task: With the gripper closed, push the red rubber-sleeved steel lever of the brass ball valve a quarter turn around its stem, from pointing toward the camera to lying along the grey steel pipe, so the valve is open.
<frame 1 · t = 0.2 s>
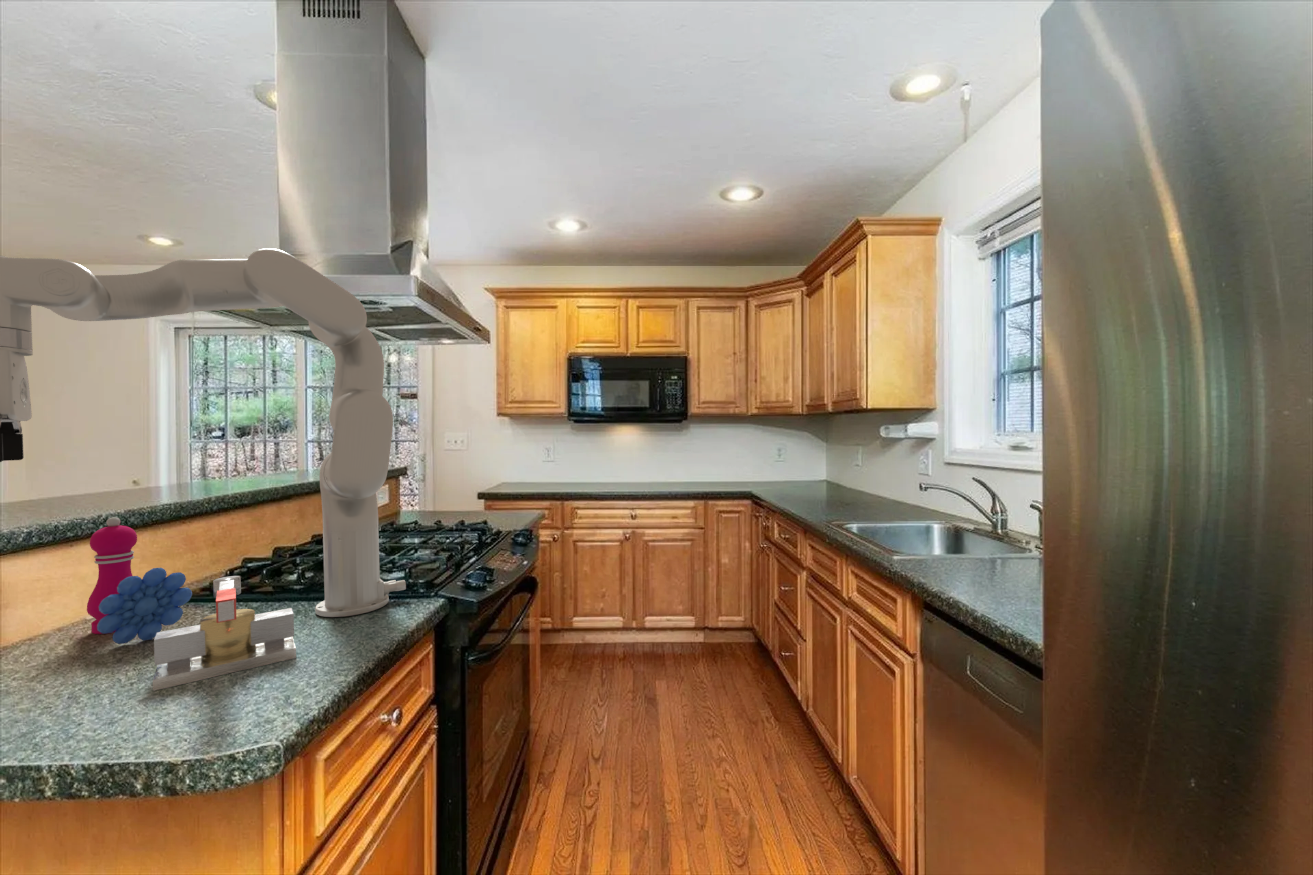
valve lever: (226, 596, 75), point 12 cm above the countertop, hinge at 0.0°
pepper mill: (116, 628, 96), on the countertop
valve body: (229, 662, 80), on the countertop
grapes: (147, 639, 91), on the countertop
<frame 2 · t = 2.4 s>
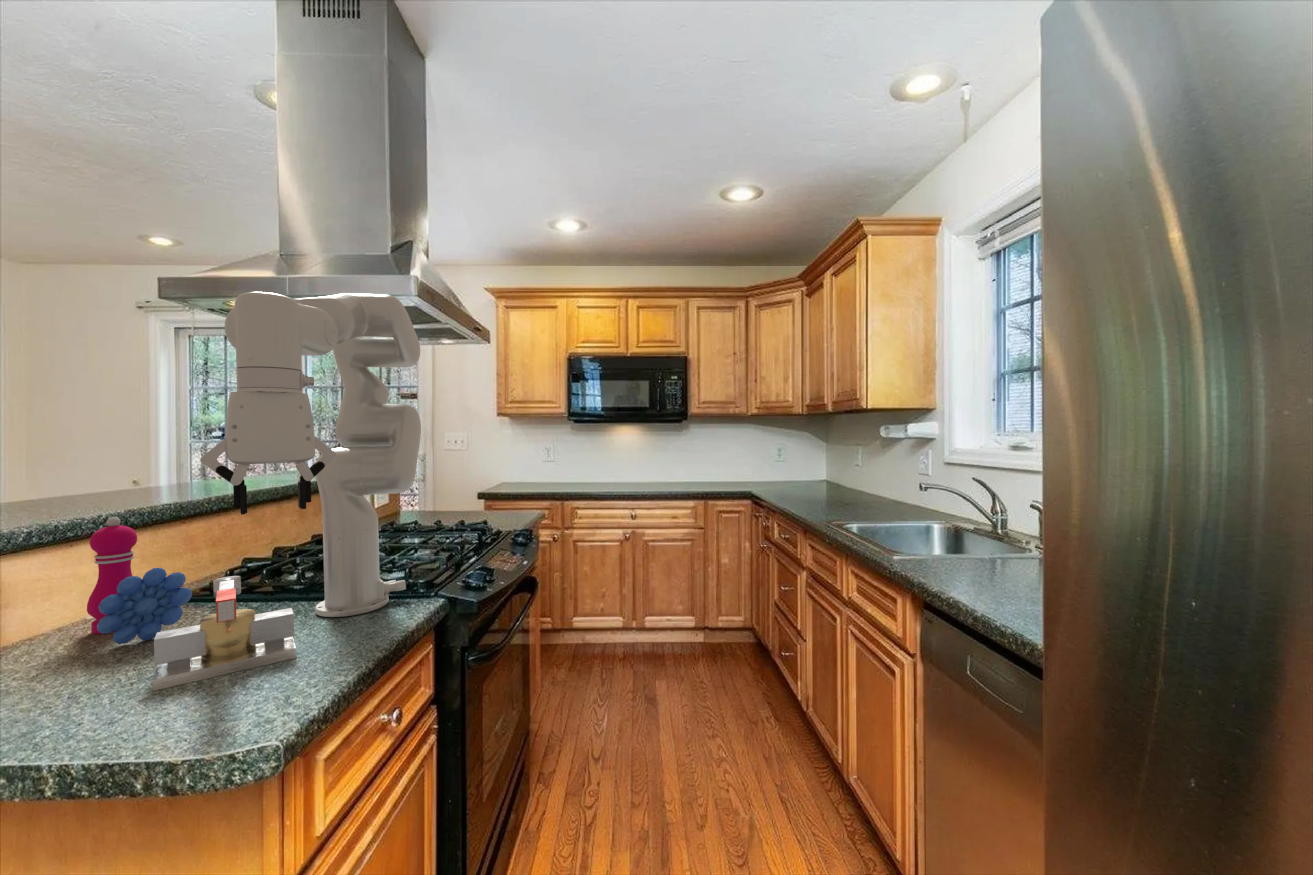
hand: (273, 509, 75), 24 cm above the countertop, tool pointing down, fingers open, 6 cm apart
nothing on the countertop moved.
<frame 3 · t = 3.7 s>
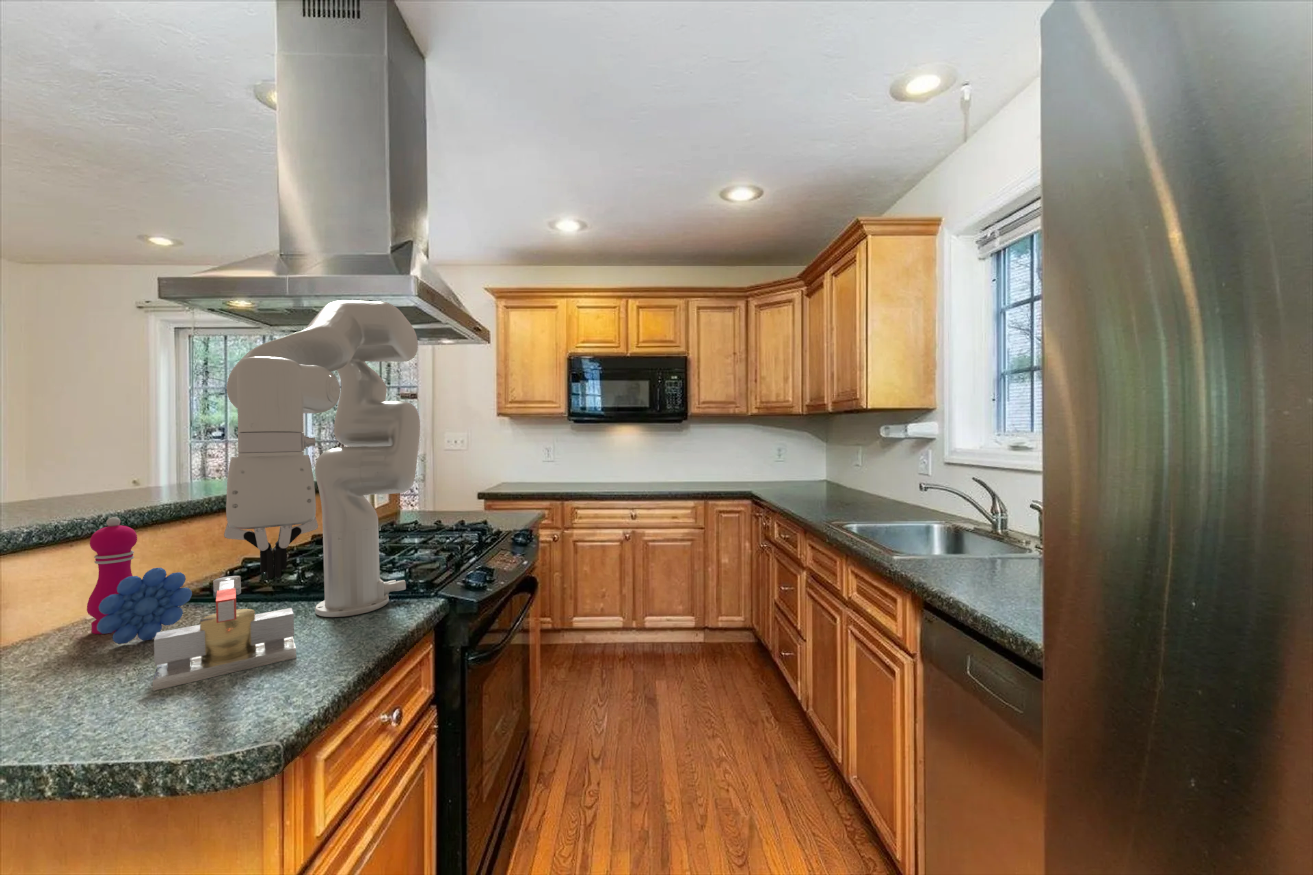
hand: (273, 576, 75), 14 cm above the countertop, tool pointing down, fingers closed
nothing on the countertop moved.
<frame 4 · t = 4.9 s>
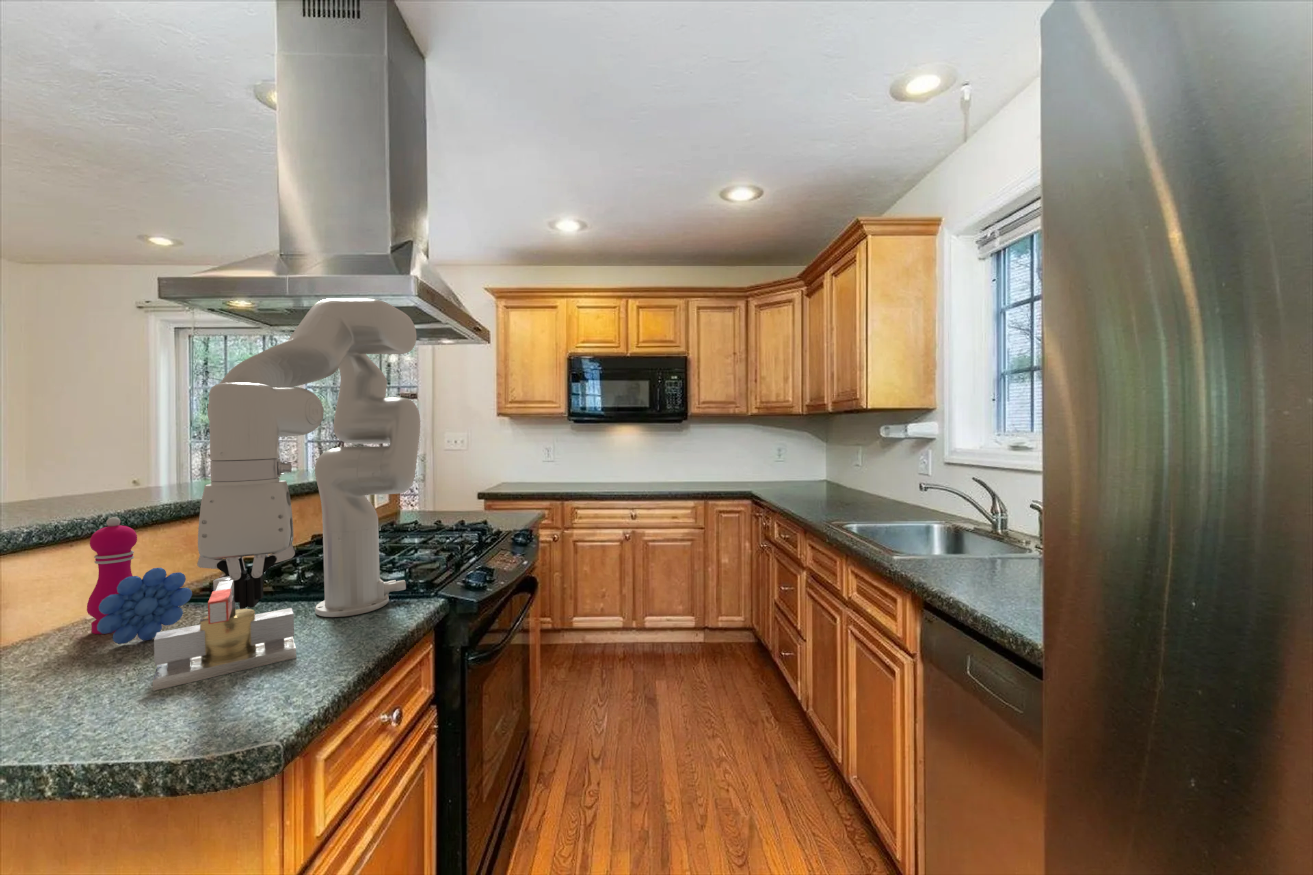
hand: (249, 605, 74), 11 cm above the countertop, tool pointing down, fingers closed
valve lever: (223, 597, 75), point 11 cm above the countertop, hinge at -3.3°, touching gripper
everything else where it was.
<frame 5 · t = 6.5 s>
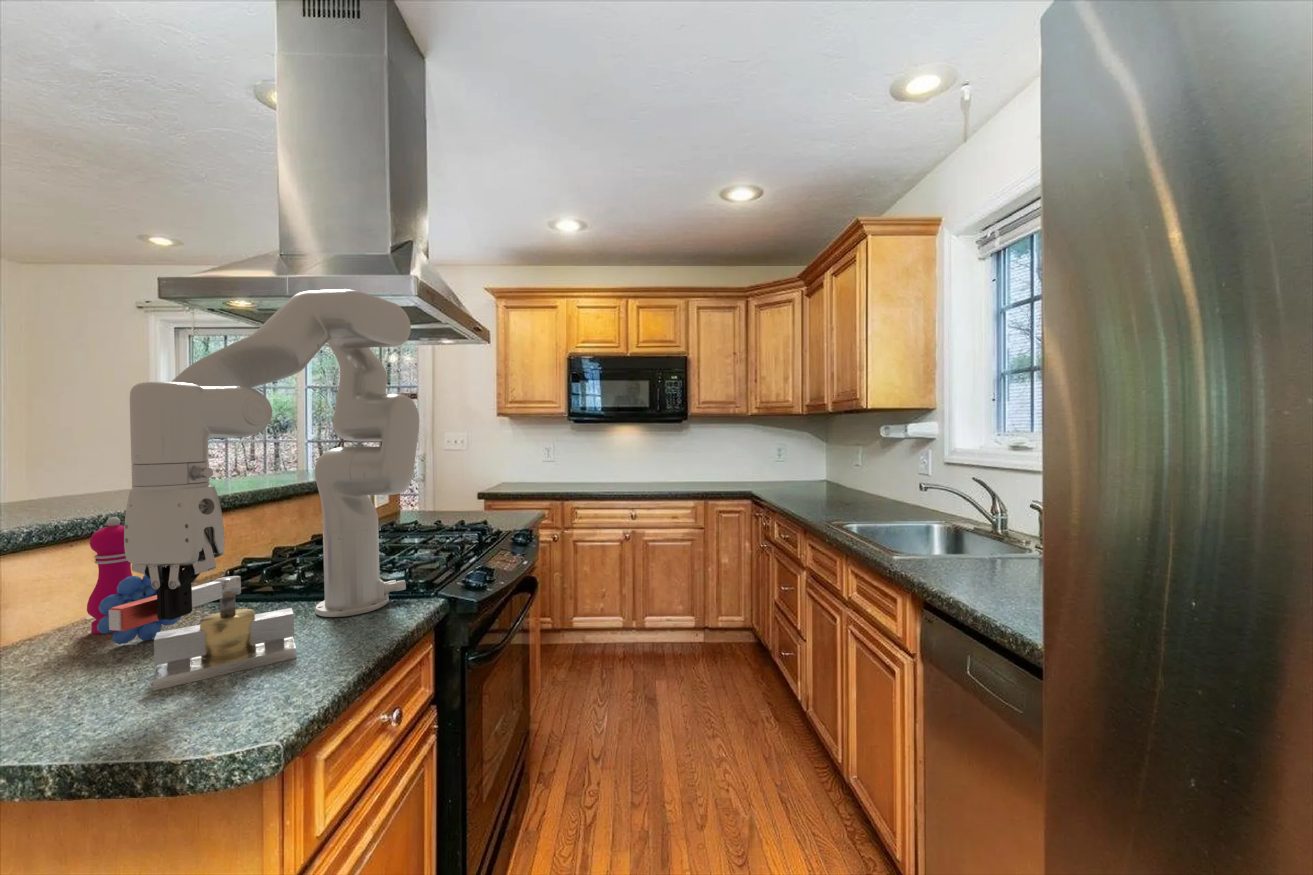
hand: (175, 616, 70), 11 cm above the countertop, tool pointing down, fingers closed
valve lever: (182, 600, 74), point 11 cm above the countertop, hinge at -49.5°, touching gripper
everything else where it was.
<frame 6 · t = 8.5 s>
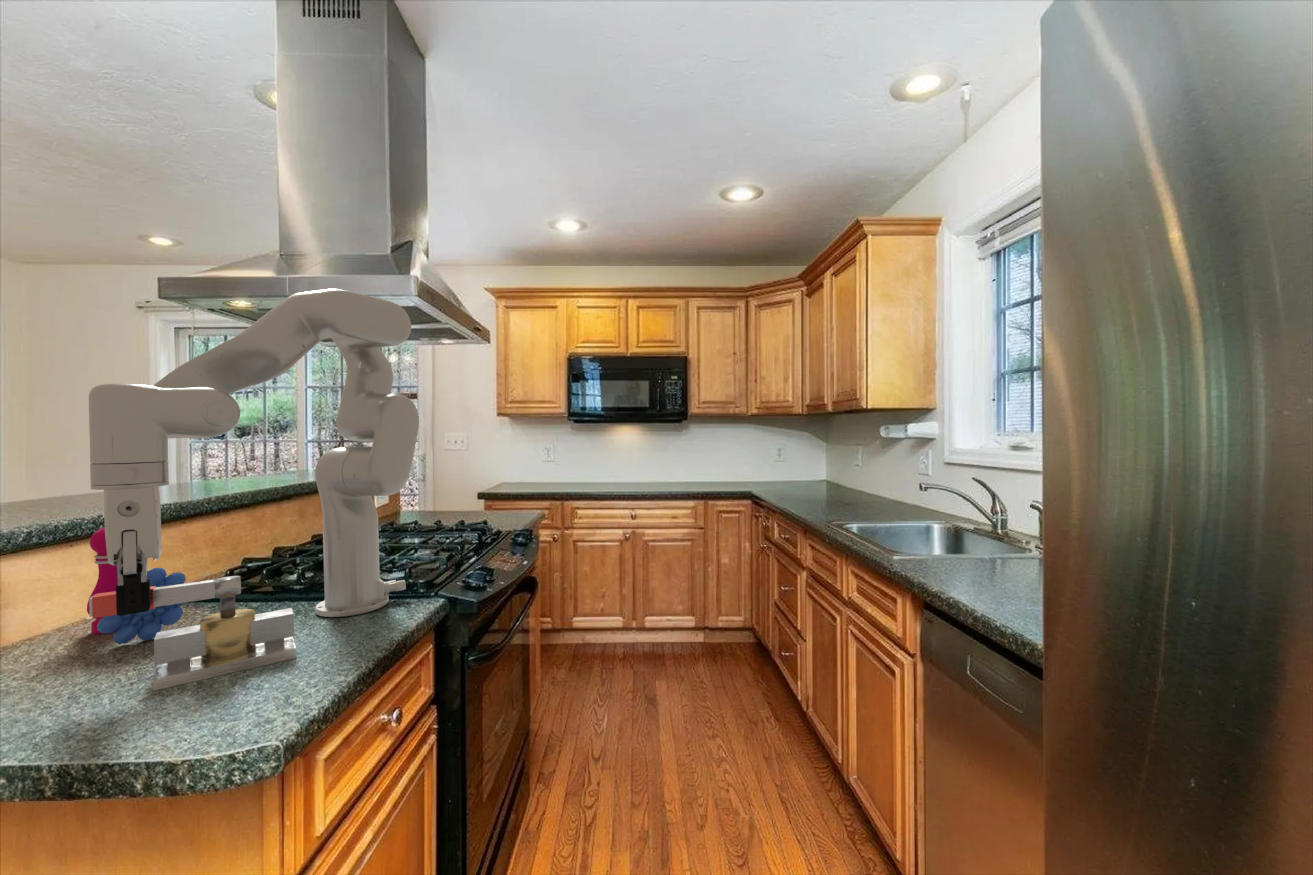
hand: (134, 611, 72), 11 cm above the countertop, tool pointing down, fingers closed
valve lever: (170, 594, 76), point 11 cm above the countertop, hinge at -93.0°, touching gripper
everything else where it was.
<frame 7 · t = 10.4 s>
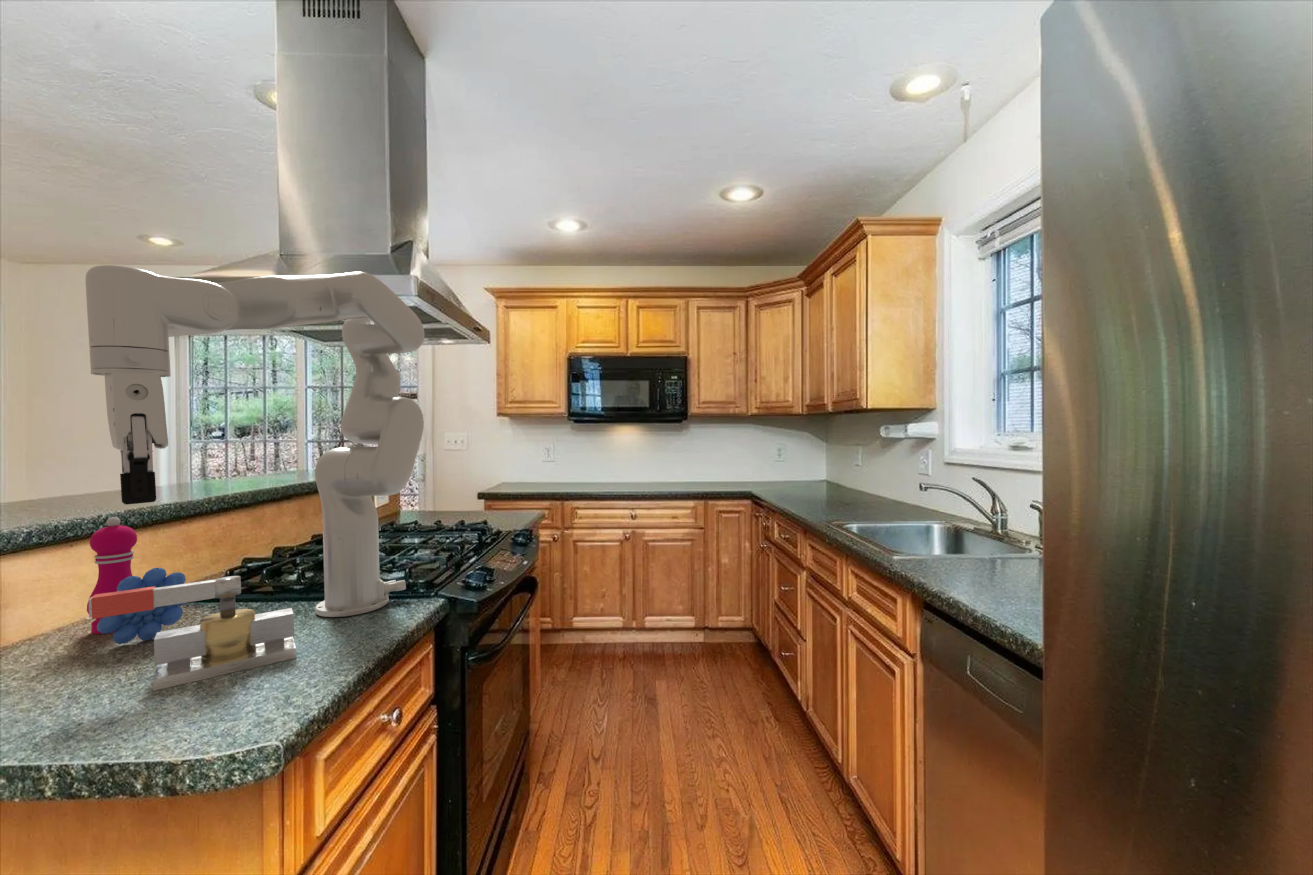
hand: (139, 502, 71), 25 cm above the countertop, tool pointing down, fingers closed
valve lever: (170, 595, 76), point 12 cm above the countertop, hinge at -91.3°
everything else where it was.
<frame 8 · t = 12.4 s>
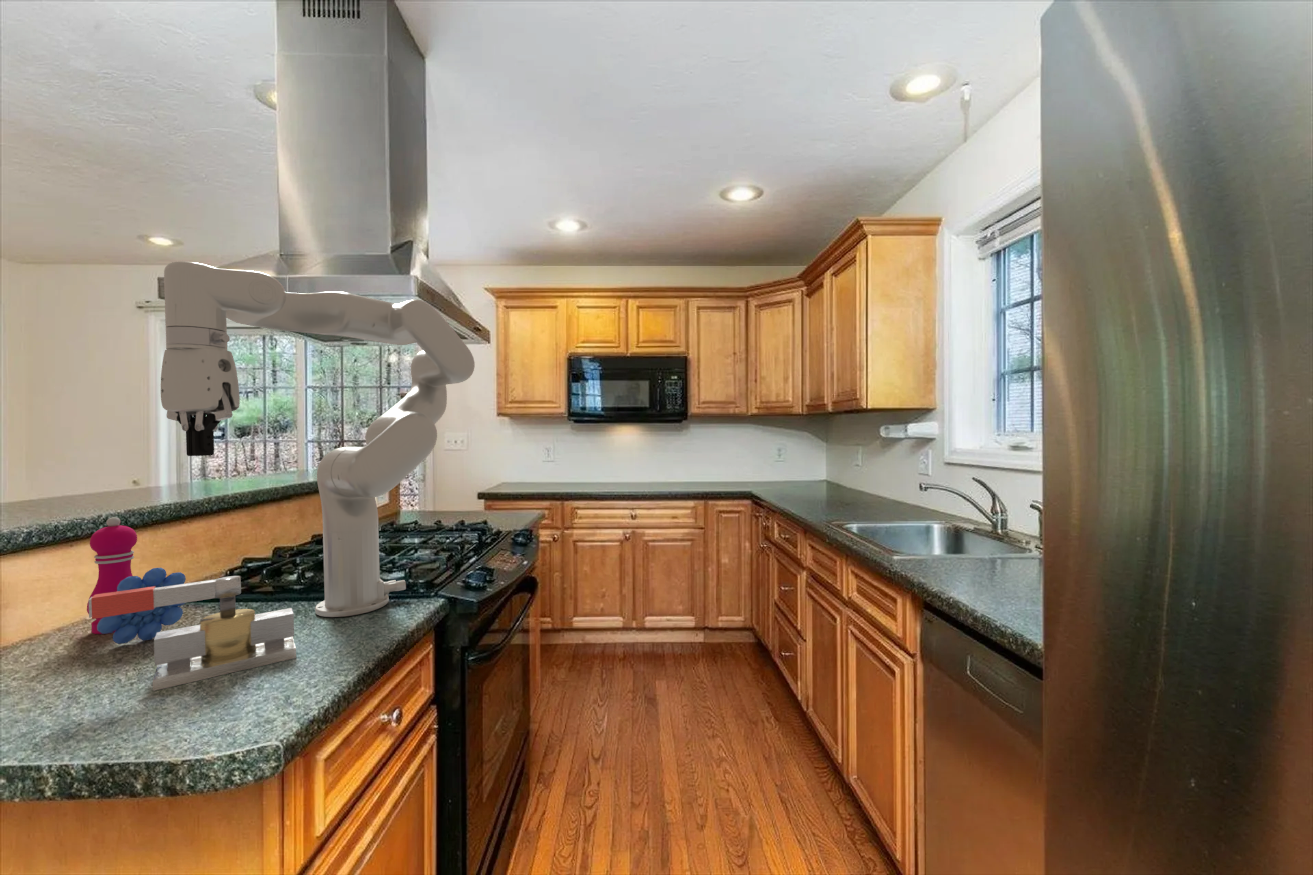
hand: (200, 455, 87), 31 cm above the countertop, tool pointing down, fingers closed
nothing on the countertop moved.
at the end: valve lever at -91° (first picture: +0°); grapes moved 0.2 cm from its start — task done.
